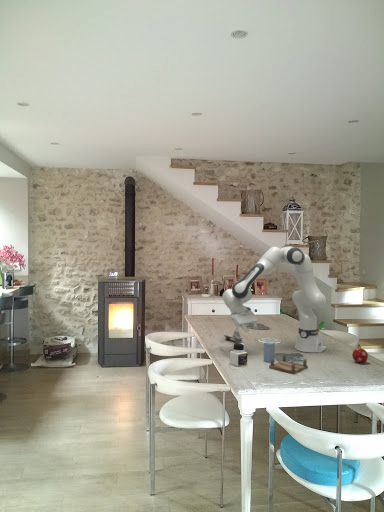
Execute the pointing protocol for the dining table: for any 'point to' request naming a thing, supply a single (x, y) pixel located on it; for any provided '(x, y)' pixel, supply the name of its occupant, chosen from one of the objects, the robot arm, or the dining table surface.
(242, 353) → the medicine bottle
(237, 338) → the sculpture
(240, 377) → the dining table surface
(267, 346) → the blue block
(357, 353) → the christmas ornament
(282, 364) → the peg board
